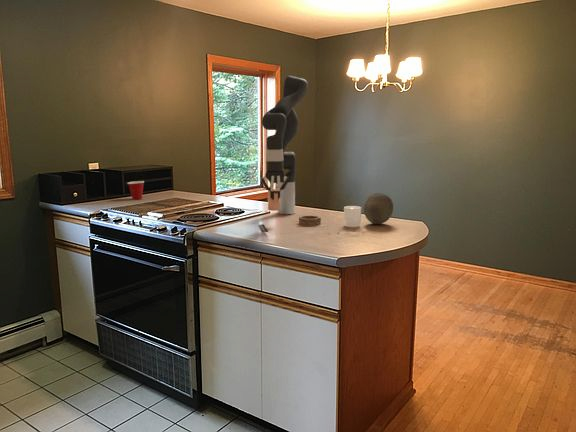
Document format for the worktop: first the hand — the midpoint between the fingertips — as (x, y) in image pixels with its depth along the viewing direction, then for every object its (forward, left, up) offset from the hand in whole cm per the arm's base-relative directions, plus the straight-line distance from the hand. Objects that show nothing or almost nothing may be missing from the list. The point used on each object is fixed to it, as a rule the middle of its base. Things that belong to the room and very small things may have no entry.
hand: (275, 199), depth 204 cm
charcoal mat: (-5, 0, -14) cm, 15 cm away
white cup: (+3, +35, -14) cm, 38 cm away
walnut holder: (-5, +17, -14) cm, 23 cm away
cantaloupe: (-4, +50, -14) cm, 52 cm away
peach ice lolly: (-2, 0, -5) cm, 6 cm away
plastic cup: (-119, -76, -14) cm, 142 cm away
